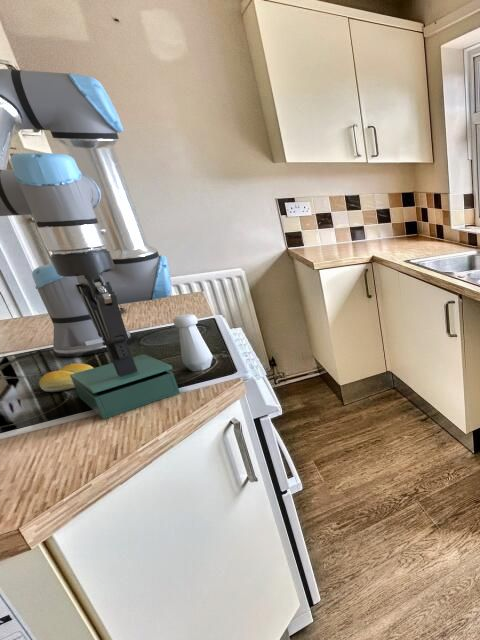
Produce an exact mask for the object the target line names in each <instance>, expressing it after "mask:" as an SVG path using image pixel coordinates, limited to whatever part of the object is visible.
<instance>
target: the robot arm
mask: <svg viewBox="0 0 480 640" xmlns="http://www.w3.org/2000/svg"><path fill="white" fill-rule="evenodd" d="M123 126H124V125H123V124H122V122H121V118H120V116H119V114H118V112H117V110H116V108H115V106H114V103H113V102H112V100H111V98H110V96H109V95H108V92H107V91H106V89H105V88H104V86H103V84H102V83H101V82H100V81H99V80H98V79H96V78H95V77H93V76H89V75H84V74H77V73H71V72H66V73H65V72H51V71H37V70H22V69H14V68H13V69H12V68H0V217H11V216H30V215H32V217H33V220H34V221H35V225H36V229H37V231H38V233H39V235H40V238H41V240H42V243H43V245H44V247H45V250H46V251H47V252H51V253H52V254H51V255H50V256H49V258H50V261H51V263H48V264H43V265H40V266H38V267H35V268H34V269H33V271H32V273H31V275H32V279H33V281H34V284H35V289H36V291H37V292H38V294H39V296H40V298H41V301H42V302H43V305H44V307H45V309H46V312H47V313H48V316H49V318H50V320H51V322H52V325H53V342H52V343H53V344H52V345H53V346H52V348H53V351H54V354H55V355H56V356H57V357H61V358H74V357H75V358H76V357H83V356H89V355H96V354H100V353H103V352H107V353H108V355H109V358H110V359H111V363H113V364H114V367H115V369H116V372H117V374H118V375H119V376H123V375H127V374H130V373H133V372H137V371H138V370H137V368H136V365H135V363H134V360H133V358H132V357H133V356H132V355H133V354H132V352H131V350H130V348H129V345H128V344H129V343H130V342H131V341H132V340H133V337H132V335H131V332H130V331H129V329H128V328H126V326H125V323H124V319H123V316H122V314H123V313H124V312H125V308H124V307H123V308H119V307H118V305H124V304H131V303H138V302H147V301H155V300H160V299H165V298H168V297H170V296H171V295H172V292H173V291H172V288H173V287H172V279H171V273H170V272H171V271H170V266H169V261H168V257H167V256H166V255H163V254H159V252H158V249H157V247H154V246H152V245H150V244H149V243H148V241H147V237H146V235H145V233H144V232H145V231H144V229H143V227H142V223H141V221H140V217H139V215H138V212H137V209H136V206H135V204H134V200H133V198H132V195H131V192H130V189H129V187H128V184H127V181H126V177H125V176H124V171H123V169H122V167H121V164H120V160H119V158H118V155H117V152H116V149H115V146H116V145H117V144H118V143H119V142H120V138H119V135H118V133H119V134H120V133H123V132H124V127H123ZM21 130H22V131H23V130H36V131H37V130H38V131H49V132H50V134H51V137H52V140H53V141H55V142H57V143H58V144H60V145H62V146H63V147H65V149H66V152H67V154H66V153H65V154H64V153H50V152H49V153H45V152H43V153H41V152H26V153H25V152H24V153H22V152H21V153H15V154H12V155H10V153H11V146H12V141H13V137H14V136H16V135H17V134H18V133H20V131H21ZM9 157H10V158H9ZM9 161H10V164H11V167H12V169H8V164H9ZM104 247H105V248H104Z"/></svg>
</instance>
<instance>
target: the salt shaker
mask: <svg viewBox="0 0 480 640" xmlns="http://www.w3.org/2000/svg"><path fill="white" fill-rule="evenodd" d="M172 320H173V321H172V322H173V325H174V326H175V327H176V328H178V335H179V343H180V344H179V345H180V355H181V356H180V357H181V362H182V363H183V365H184V366H185V367H186V368H187V369H188V370H189V371H192V372H199V371H204V370H206V369H209V368H211V365H212V361H213V357H214V355H213V354H212V352H211V351H210V348H209V347H208V345H207V343H206V342H205V339H204V338H203V336H202V334H201V333H200V331H199V328H198V327H197V324H198V318H197V316H196V314H193V313H182V314H179V315H176V316H174V318H173V319H172Z"/></svg>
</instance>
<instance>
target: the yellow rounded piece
mask: <svg viewBox="0 0 480 640" xmlns="http://www.w3.org/2000/svg"><path fill="white" fill-rule="evenodd" d="M92 368H94V366H92V365H90V364H87V363H83V362H82V363H81V362H80V363H77V362H76V363H68V364H66V365H64V366H62V367H61V368H60V369H59V370H53V371H49V372H47V373H45V374H44V375H42V376H41V378H40V379H39V382H38V385H39V387H40V389H41V390H42V391H44V392H47V393H57V392H63V391H68V390H73V389H76V388H75V386H74V383H73V381H72V378H71V377H70V375H71V374H74V373H78V372H82V371H85V370H89V369H92Z"/></svg>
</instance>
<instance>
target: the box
mask: <svg viewBox="0 0 480 640" xmlns="http://www.w3.org/2000/svg"><path fill="white" fill-rule="evenodd" d="M72 381H73V383H74V386H75V388H74V389H75V390H76V393H77V394H78V397H79V399H80V400H81V401H82V402H83V403H84V404H86V405H87V406H88V407H89V408H91V410H93V412H95V413H96V414H97V415H98V416H100V417H101V418H102V419H103V420H106V419H109V418H112V417H114V416H117V415H121V414H123V413H126V412H129V411H131V410H135V409H137V408H140V407H143V406H146V405H148V404H152V403H154V402H158V401H160V400H163V399H165V398H166V399H167V398H168V397H171V396H175V395H177V394H180V392H181V391H180V389H179V386H178V382H177V381H176V378H175V375H174V373H173V372H172V371H171V370H168V371H164V372H161V373H158V374H155V375H151V376H148V377H145V378H142V379H139V380H135V381H132V382H129V383H126V384H122V385H119V386H116V387H113V388H110V389H106V390H103V391H100V392H97V393H92V392H90V391H89V390H88V389H86V388H85V387H83V386H82V385H80V384H79V383H77V382H76V381H75V380H73V379H72Z"/></svg>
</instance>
